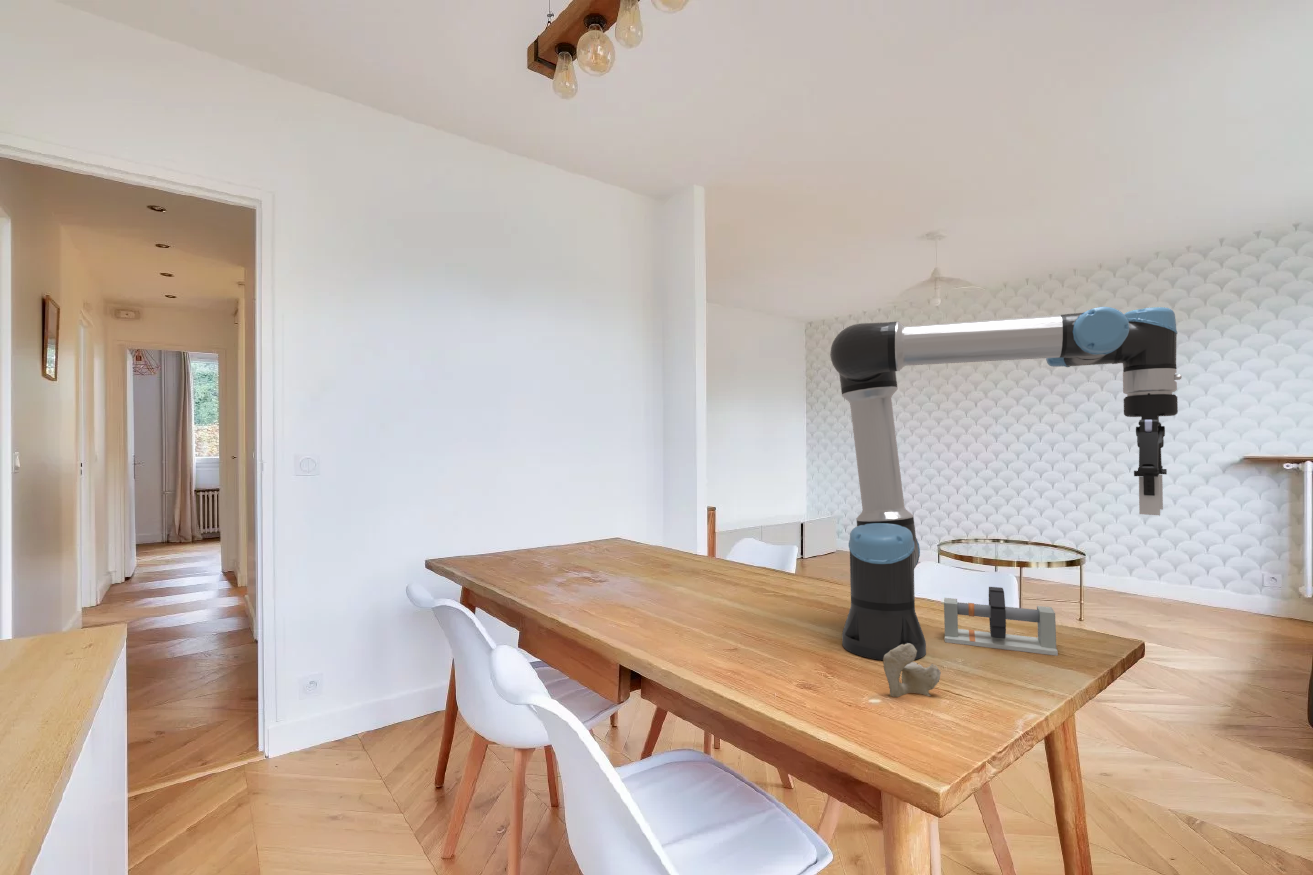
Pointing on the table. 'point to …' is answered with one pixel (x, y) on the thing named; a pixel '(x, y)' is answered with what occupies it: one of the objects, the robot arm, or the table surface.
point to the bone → (908, 672)
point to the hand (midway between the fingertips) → (1151, 511)
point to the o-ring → (997, 612)
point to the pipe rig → (1011, 642)
